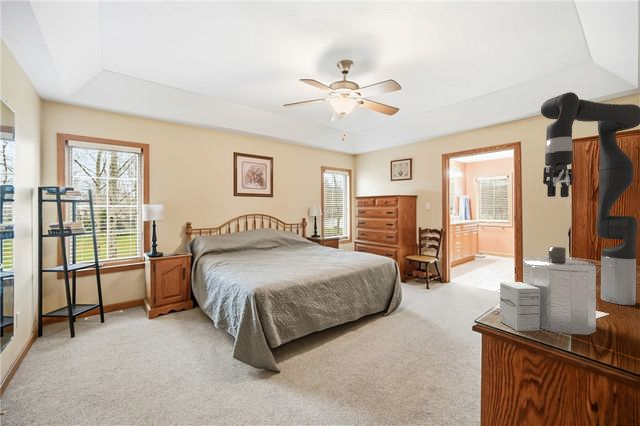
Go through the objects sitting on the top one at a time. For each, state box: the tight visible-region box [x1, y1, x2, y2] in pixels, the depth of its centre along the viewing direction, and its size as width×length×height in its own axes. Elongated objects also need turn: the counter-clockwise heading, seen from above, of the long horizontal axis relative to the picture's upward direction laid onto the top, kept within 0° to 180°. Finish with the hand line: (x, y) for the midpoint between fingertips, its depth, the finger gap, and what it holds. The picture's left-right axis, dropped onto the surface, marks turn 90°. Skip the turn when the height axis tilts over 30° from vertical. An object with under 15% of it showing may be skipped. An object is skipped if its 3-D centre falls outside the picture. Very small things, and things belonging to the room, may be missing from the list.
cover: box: [522, 246, 597, 336], centre depth 87 cm, size 17×17×24 cm
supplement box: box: [499, 281, 540, 332], centre depth 85 cm, size 7×7×13 cm
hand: (558, 196), depth 101 cm, fingers open, 8 cm apart
